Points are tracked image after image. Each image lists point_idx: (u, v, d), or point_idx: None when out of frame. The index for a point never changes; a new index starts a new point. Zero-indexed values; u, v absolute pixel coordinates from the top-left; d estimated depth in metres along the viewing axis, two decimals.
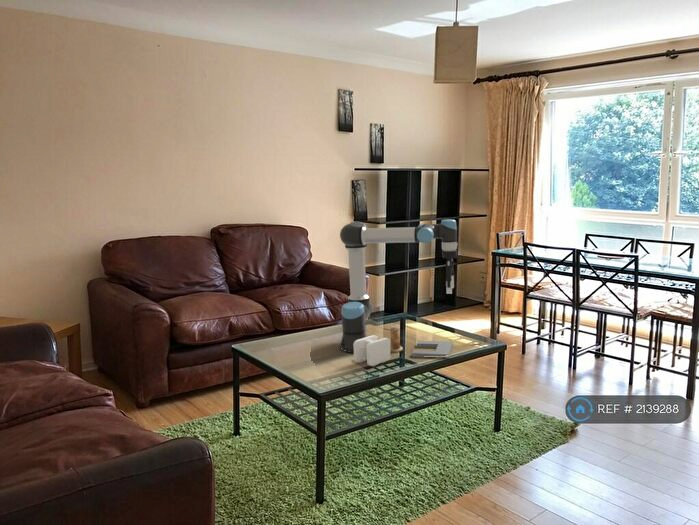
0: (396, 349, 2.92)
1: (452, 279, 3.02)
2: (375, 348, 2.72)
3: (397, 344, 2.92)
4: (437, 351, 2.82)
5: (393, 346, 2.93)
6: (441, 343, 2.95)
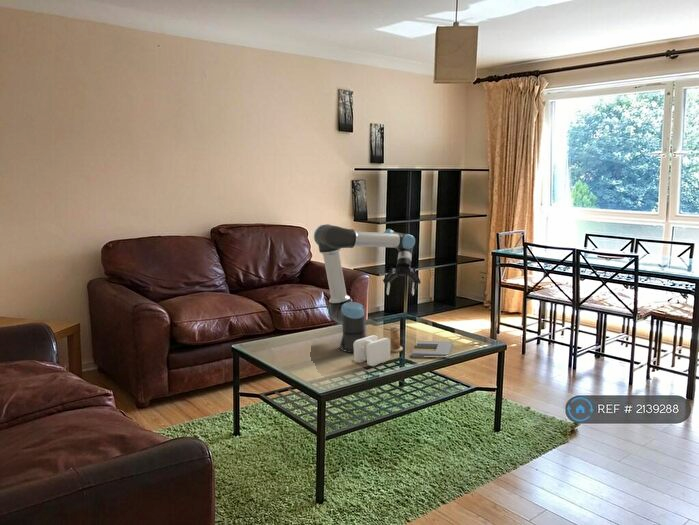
0: (396, 349, 2.92)
1: (389, 287, 3.11)
2: (375, 348, 2.72)
3: (397, 344, 2.92)
4: (437, 351, 2.82)
5: (393, 346, 2.93)
6: (441, 343, 2.95)
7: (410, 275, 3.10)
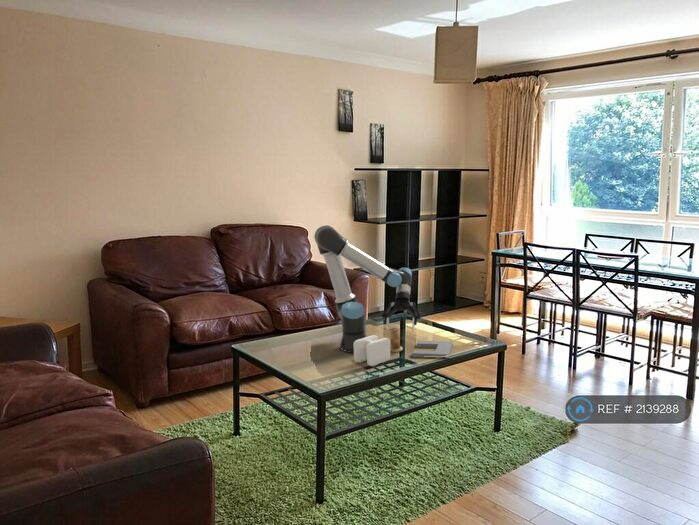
0: (396, 349, 2.92)
1: (388, 322, 3.02)
2: (375, 348, 2.72)
3: (397, 344, 2.92)
4: (437, 351, 2.82)
5: (393, 346, 2.93)
6: (441, 343, 2.95)
7: (410, 310, 3.01)
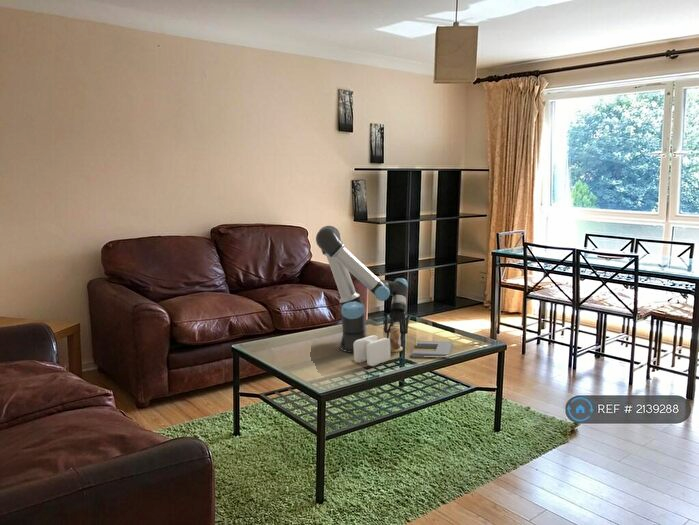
0: (396, 349, 2.92)
1: (390, 337, 2.94)
2: (375, 348, 2.72)
3: (397, 344, 2.92)
4: (437, 351, 2.82)
5: (393, 346, 2.93)
6: (441, 343, 2.95)
7: (401, 323, 2.96)
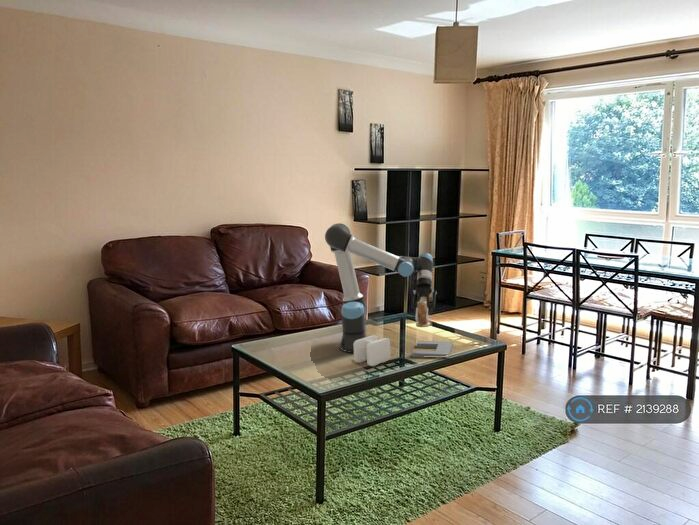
0: (424, 324, 2.86)
1: None
2: (375, 348, 2.72)
3: (425, 319, 2.86)
4: (437, 351, 2.82)
5: (421, 321, 2.87)
6: (441, 343, 2.95)
7: (427, 298, 2.90)
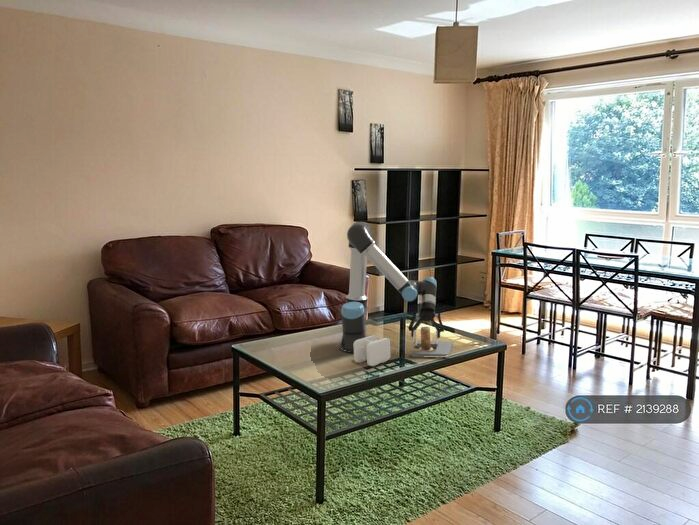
0: (427, 350, 2.88)
1: (415, 335, 2.92)
2: (375, 348, 2.72)
3: (428, 345, 2.88)
4: (437, 351, 2.82)
5: (423, 347, 2.89)
6: (441, 343, 2.95)
7: (434, 322, 2.91)
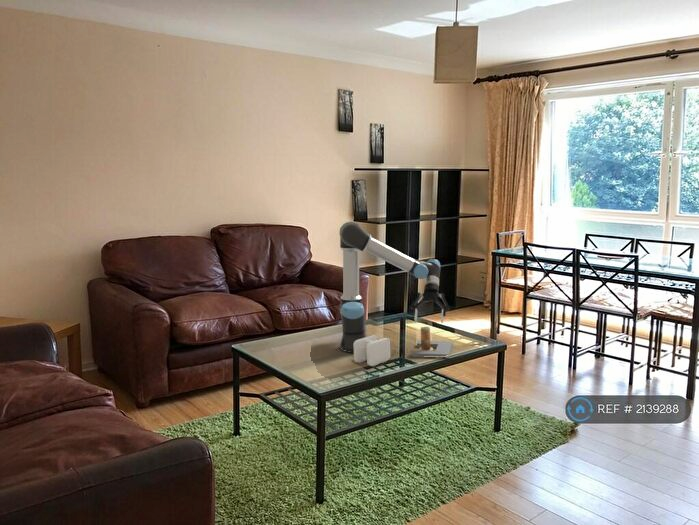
0: (427, 350, 2.88)
1: None
2: (375, 348, 2.72)
3: (428, 345, 2.88)
4: (437, 351, 2.82)
5: (423, 347, 2.89)
6: (441, 343, 2.95)
7: (439, 301, 2.98)
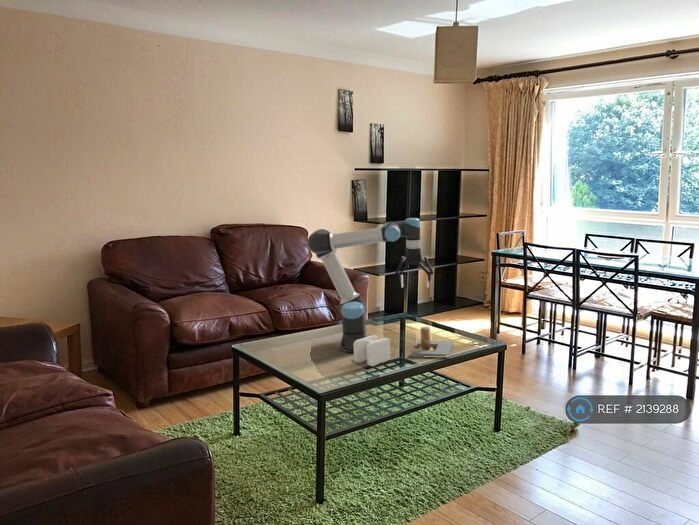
0: (427, 350, 2.88)
1: (402, 278, 3.08)
2: (375, 348, 2.72)
3: (428, 345, 2.88)
4: (437, 351, 2.82)
5: (423, 347, 2.89)
6: (441, 343, 2.95)
7: (422, 267, 3.02)
